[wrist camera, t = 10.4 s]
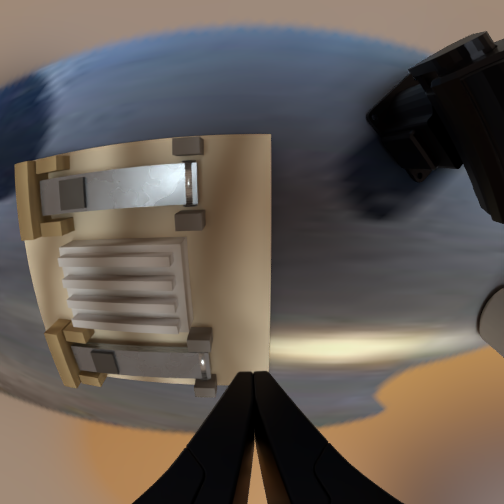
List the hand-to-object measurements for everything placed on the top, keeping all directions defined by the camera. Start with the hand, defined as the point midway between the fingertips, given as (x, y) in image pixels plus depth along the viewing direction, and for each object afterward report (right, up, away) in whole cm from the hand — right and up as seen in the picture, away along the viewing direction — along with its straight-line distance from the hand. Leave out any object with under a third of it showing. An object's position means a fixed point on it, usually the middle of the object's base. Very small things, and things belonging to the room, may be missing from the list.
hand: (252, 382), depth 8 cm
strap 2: (-9, -5, +13) cm, 16 cm away
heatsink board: (-9, +2, +13) cm, 16 cm away
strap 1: (-9, +8, +9) cm, 15 cm away
